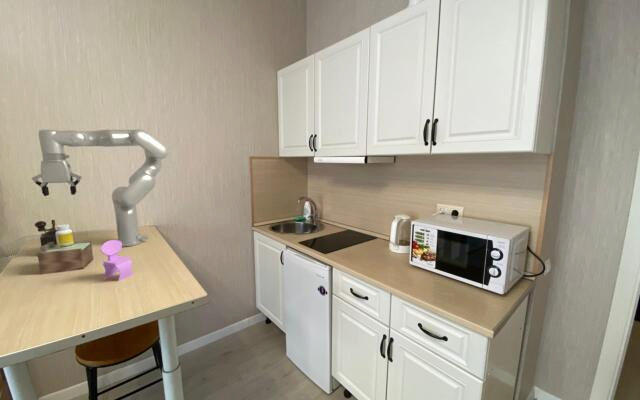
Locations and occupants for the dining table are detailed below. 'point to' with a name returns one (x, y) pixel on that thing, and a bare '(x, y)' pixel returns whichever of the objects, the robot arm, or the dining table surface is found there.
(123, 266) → the toy chair
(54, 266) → the box
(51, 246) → the lid
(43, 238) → the brown manual coffee grinder
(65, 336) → the dining table surface
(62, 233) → the supplement bottle
